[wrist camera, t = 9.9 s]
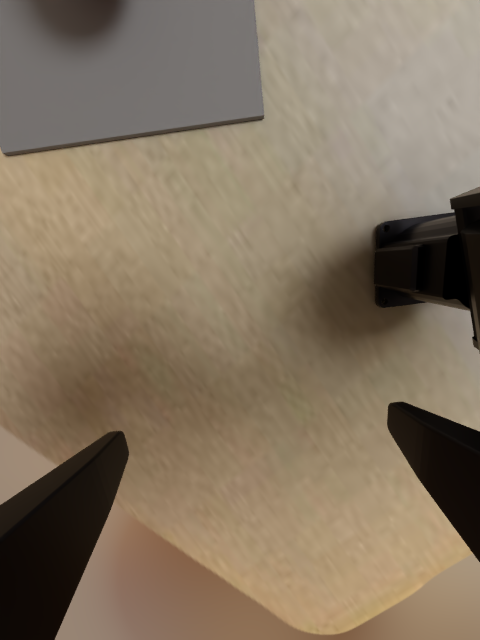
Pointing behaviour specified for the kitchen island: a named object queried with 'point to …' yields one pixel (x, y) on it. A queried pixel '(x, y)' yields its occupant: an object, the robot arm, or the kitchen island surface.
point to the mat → (123, 69)
